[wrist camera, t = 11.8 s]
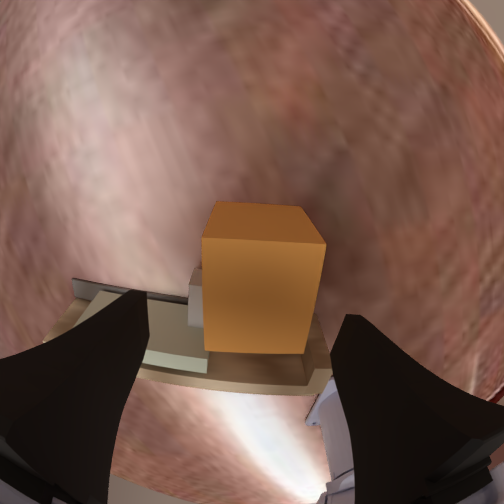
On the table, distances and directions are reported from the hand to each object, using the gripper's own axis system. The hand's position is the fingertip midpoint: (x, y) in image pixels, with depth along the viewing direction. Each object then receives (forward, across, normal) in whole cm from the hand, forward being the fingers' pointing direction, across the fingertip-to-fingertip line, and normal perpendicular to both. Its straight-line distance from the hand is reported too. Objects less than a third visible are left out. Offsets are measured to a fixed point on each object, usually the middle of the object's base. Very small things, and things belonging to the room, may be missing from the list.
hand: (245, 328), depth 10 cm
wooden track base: (+8, +3, +6) cm, 11 cm away
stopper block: (+8, -1, +1) cm, 9 cm away
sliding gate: (+8, +6, +4) cm, 10 cm away
